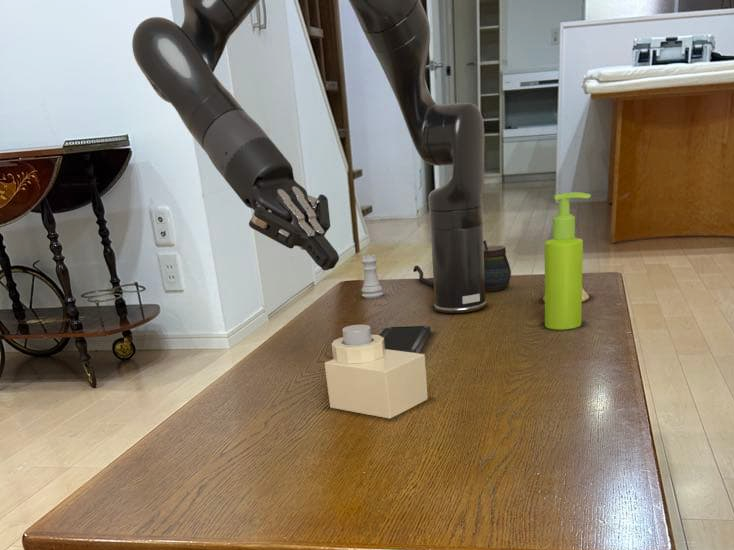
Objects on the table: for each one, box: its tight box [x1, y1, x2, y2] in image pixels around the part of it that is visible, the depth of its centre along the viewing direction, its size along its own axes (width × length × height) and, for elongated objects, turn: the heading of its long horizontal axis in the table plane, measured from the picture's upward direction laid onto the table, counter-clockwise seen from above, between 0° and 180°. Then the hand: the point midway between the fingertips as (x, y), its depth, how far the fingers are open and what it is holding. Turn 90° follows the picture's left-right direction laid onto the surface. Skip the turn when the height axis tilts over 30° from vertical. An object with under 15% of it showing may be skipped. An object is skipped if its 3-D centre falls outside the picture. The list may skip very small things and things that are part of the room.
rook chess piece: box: [360, 253, 384, 300], centre depth 165 cm, size 4×4×8 cm
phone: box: [378, 325, 431, 354], centre depth 131 cm, size 8×1×15 cm
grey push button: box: [341, 324, 372, 346], centre depth 104 cm, size 4×4×2 cm
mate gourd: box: [483, 239, 512, 293], centre depth 161 cm, size 7×8×10 cm
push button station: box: [324, 333, 429, 419], centre depth 105 cm, size 11×8×8 cm
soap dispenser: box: [544, 191, 592, 331], centre depth 130 cm, size 6×7×20 cm
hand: (332, 264), depth 102 cm, fingers closed
